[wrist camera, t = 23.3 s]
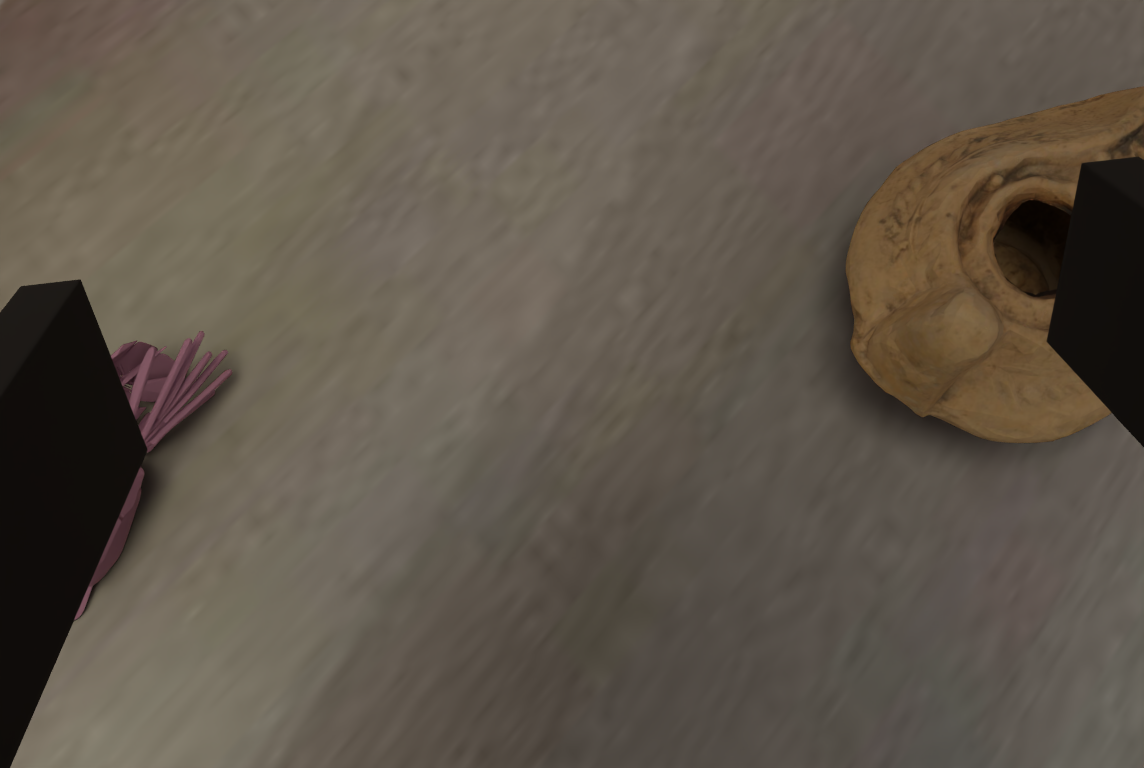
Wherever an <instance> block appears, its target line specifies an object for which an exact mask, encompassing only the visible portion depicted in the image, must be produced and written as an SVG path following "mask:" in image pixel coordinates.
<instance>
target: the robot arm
mask: <svg viewBox="0 0 1144 768" xmlns="http://www.w3.org/2000/svg"><path fill="white" fill-rule="evenodd" d="M1047 343H1048V344H1049V345H1050V346H1051V347H1052V348H1053V349H1054V350H1055V352H1056V353H1057V354H1058V355H1059V356H1060V357H1061V358H1062V359H1063V360H1064V361H1065V362H1066V363H1067V365H1068V366H1069V367H1070V368H1071V369H1072V370H1073V371H1074V372H1075V373H1076V374H1077V375H1078V377H1079V378H1080V379H1081V380H1082V381H1083V382H1084V383H1085V384H1086V385H1087V386H1088V387H1089V388H1090V390H1091V391H1092V392H1093V393H1094V394H1095V395H1096V396H1097V397H1098V398H1099V399H1100V400H1101V401H1102V403H1103V404H1104V405H1105V406H1106V407H1107V408H1108V409H1109V410H1110V411H1111V412H1112V413H1113V414H1114V416H1115V417H1116V418H1117V419H1118V420H1119V421H1120V422H1121V423H1122V424H1123V425H1124V426H1125V428H1126V429H1127V430H1128V431H1129V432H1130V433H1131V434H1132V435H1133V436H1134V437H1135V438H1136V439H1137V441H1138V442H1139V443H1140V444H1141V445H1142V446H1143V447H1144V160H1143V159H1142V158H1140V157H1139V156H1138V157H1130V158H1121V159H1112V160H1104V161H1095V162H1087V163H1082V164H1081V169H1080V174H1079V179H1078V184H1077V189H1076V194H1075V199H1074V204H1073V209H1072V214H1071V220H1070V225H1069V230H1068V235H1067V240H1066V245H1065V250H1064V255H1063V260H1062V265H1061V270H1060V276H1059V281H1058V286H1057V291H1056V296H1055V301H1054V306H1053V311H1052V316H1051V321H1050V326H1049V332H1048V337H1047ZM147 451H148V449H147V447H146V444H145V442H144V439H143V436H142V434H141V431H140V429H139V426H138V424H137V421H136V419H135V416H134V414H133V411H132V409H131V406H130V404H129V401H128V399H127V396H126V393H125V391H124V388H123V386H122V383H121V381H120V378H119V376H118V373H117V371H116V368H115V366H114V363H113V361H112V358H111V355H110V353H109V350H108V348H107V345H106V343H105V340H104V338H103V335H102V333H101V330H100V328H99V325H98V323H97V320H96V317H95V315H94V312H93V310H92V307H91V305H90V302H89V300H88V297H87V295H86V292H85V290H84V287H83V285H82V282H81V280H72V281H63V282H55V283H46V284H37V285H29V286H21V287H20V288H19V289H18V290H17V292H16V293H15V294H14V296H13V297H12V298H11V299H10V301H9V302H8V303H7V305H6V306H5V307H4V308H3V310H2V311H1V312H0V768H10V766H11V764H12V762H13V759H14V757H15V755H16V753H17V750H18V748H19V746H20V743H21V741H22V739H23V736H24V734H25V732H26V729H27V727H28V725H29V723H30V720H31V718H32V716H33V713H34V711H35V709H36V706H37V704H38V702H39V700H40V697H41V695H42V693H43V690H44V688H45V686H46V683H47V681H48V679H49V676H50V674H51V672H52V670H53V667H54V665H55V663H56V660H57V658H58V656H59V653H60V651H61V649H62V646H63V644H64V642H65V640H66V637H67V635H68V633H69V630H70V628H71V626H72V623H73V621H74V619H75V617H76V614H77V612H78V610H79V607H80V605H81V603H82V600H83V598H84V596H85V593H86V591H87V589H88V587H89V584H90V582H91V580H92V577H93V575H94V573H95V570H96V568H97V566H98V563H99V561H100V559H101V557H102V554H103V552H104V550H105V547H106V545H107V543H108V540H109V538H110V536H111V534H112V531H113V529H114V527H115V524H116V522H117V520H118V517H119V515H120V513H121V510H122V508H123V506H124V504H125V501H126V499H127V497H128V494H129V492H130V490H131V487H132V485H133V483H134V481H135V478H136V476H137V474H138V471H139V469H140V467H141V464H142V462H143V460H144V457H145V455H146V453H147Z"/></svg>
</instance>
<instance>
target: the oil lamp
mask: <svg viewBox="0 0 1144 768" xmlns="http://www.w3.org/2000/svg"><path fill="white" fill-rule="evenodd" d="M1138 156H1139V157H1140V158H1142V159H1143V160H1144V86H1143V87H1138V88H1132V89H1127V90H1122V91H1116V92H1112V93H1107V94H1103V95H1099V96H1096V97H1093V98H1090V99H1087V100H1084V101H1080V102H1075V103H1071V104H1066V105H1061V106H1057V107H1053V108H1050V109H1047V110H1043V111H1039V112H1036V113H1032V114H1028V115H1024V116H1021V117H1017V118H1013V119H1009V120H1006V121H1003V122H1000V123H996V124H991V125H987V126H982V127H978V128H973V129H969V130H965V131H961V132H958V133H956V134H953V135H951V136H948V137H946V138H944V139H942V140H940V141H938V142H936V143H934V144H932V145H930V146H928V147H926V148H925V149H923V150H921V151H920V152H918V153H917V154H915V155H913V156H912V157H910V158H909V159H907V160H906V161H904V162H903V163H901V164H900V165H898V166H897V167H896V168H895V169H894V170H893V172H892V173H891V174H890V175H889V177H888V178H887V179H886V181H885V182H884V183H883V185H882V186H881V188H880V189H879V190H878V191H877V192H876V193H875V194H874V195H873V196H872V198H871V199H870V200H869V202H868V203H867V204H866V206H865V208H864V210H863V211H862V213H861V215H860V218H859V220H858V222H857V225H856V227H855V229H854V233H853V236H852V239H851V243H850V246H849V250H848V254H847V258H846V275H847V279H848V284H849V290H850V297H851V306H852V311H853V316H854V332H853V335H852V338H851V342H850V344H851V350H852V352H853V354H854V356H855V358H856V359H857V361H858V363H859V364H860V365H861V367H862V368H863V369H864V370H865V372H866V373H867V374H868V375H869V376H870V377H871V378H872V380H873V381H874V382H875V383H876V384H877V385H878V386H880V387H881V388H882V389H883V390H884V391H885V392H886V393H889V394H891V395H893V396H894V397H896V398H897V399H898V400H900V401H901V402H903V403H904V404H905V405H907V406H908V407H909V408H911V409H912V410H913V411H914V413H915V414H917V415H919V416H921V417H925V416H928V415H931V416H934V417H936V418H939V419H941V420H944V421H946V422H948V423H950V424H952V425H954V426H956V427H958V428H960V429H962V430H964V431H966V432H968V433H970V434H972V435H975V436H977V437H979V438H983V439H987V440H991V441H997V442H1007V443H1038V442H1048V441H1054V440H1057V439H1060V438H1063V437H1066V436H1068V435H1071V434H1073V433H1075V432H1077V431H1080V430H1082V429H1084V428H1086V427H1088V426H1090V425H1092V424H1093V423H1095V422H1097V421H1099V420H1101V419H1103V418H1104V417H1106V416H1108V415H1109V414H1111V413H1112V412H1111V411H1110V410H1109V409H1108V408H1107V407H1106V406H1105V405H1104V404H1103V403H1102V401H1101V400H1100V399H1099V398H1098V397H1097V396H1096V395H1095V394H1094V393H1093V392H1092V391H1091V390H1090V388H1089V387H1088V386H1087V385H1086V384H1085V383H1084V382H1083V381H1082V380H1081V379H1080V378H1079V377H1078V375H1077V374H1076V373H1075V372H1074V371H1073V370H1072V369H1071V368H1070V367H1069V366H1068V365H1067V363H1066V362H1065V361H1064V360H1063V359H1062V358H1061V357H1060V356H1059V355H1058V354H1057V353H1056V352H1055V350H1054V349H1053V348H1052V347H1051V346H1050V345H1049V344H1048V343H1047V337H1048V332H1049V326H1050V321H1051V316H1052V311H1053V306H1054V301H1055V296H1056V291H1057V286H1058V281H1059V276H1060V270H1061V265H1062V260H1063V255H1064V250H1065V245H1066V240H1067V235H1068V230H1069V225H1070V220H1071V214H1072V209H1073V204H1074V199H1075V194H1076V189H1077V184H1078V179H1079V174H1080V169H1081V164H1082V163H1087V162H1095V161H1104V160H1112V159H1121V158H1130V157H1138Z"/></svg>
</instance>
